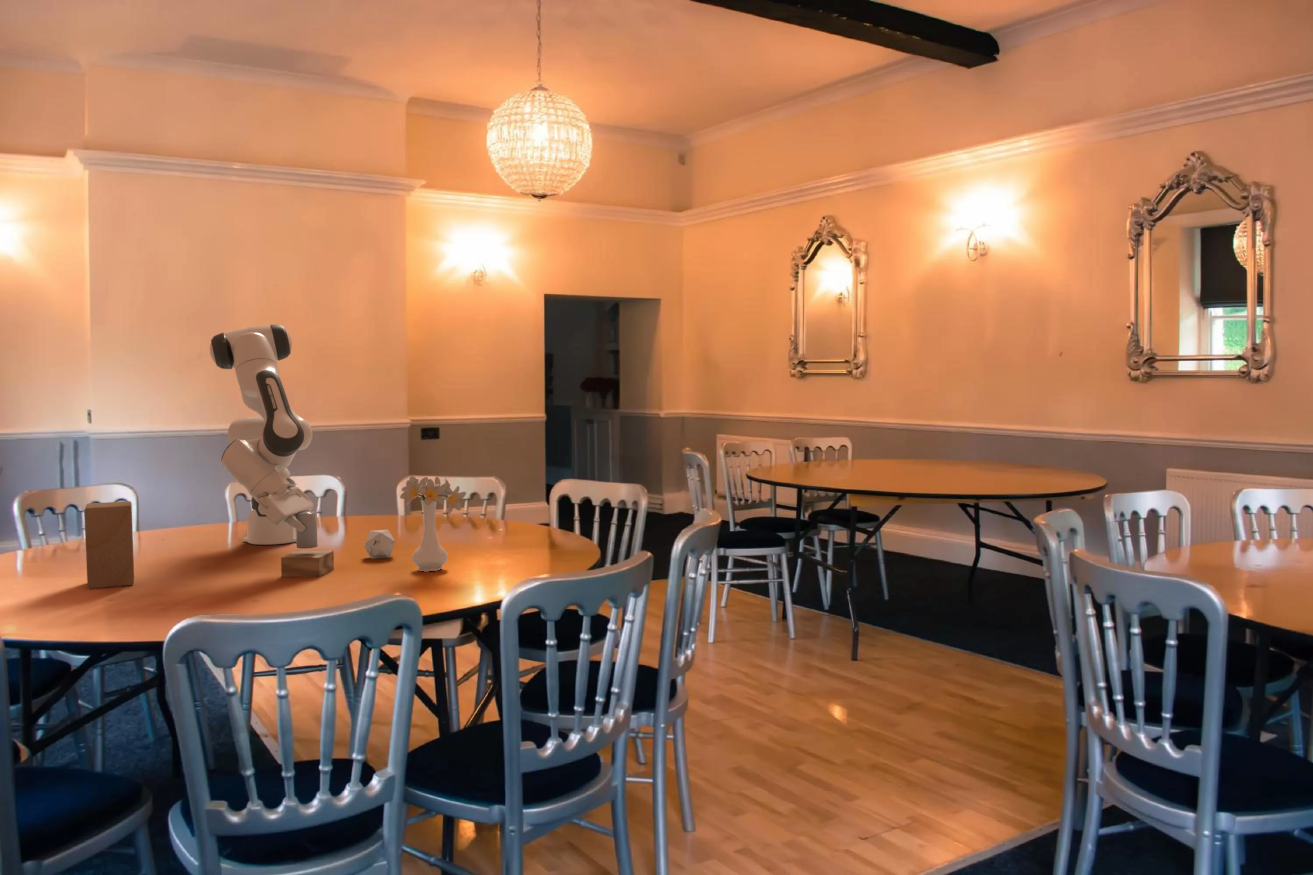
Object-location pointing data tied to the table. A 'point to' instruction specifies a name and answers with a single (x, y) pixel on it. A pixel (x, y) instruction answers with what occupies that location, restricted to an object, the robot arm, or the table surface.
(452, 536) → the table surface
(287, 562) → the oak block
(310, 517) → the grey square pillar
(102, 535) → the wooden block
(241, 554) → the table surface
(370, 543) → the die
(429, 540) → the flower vase
